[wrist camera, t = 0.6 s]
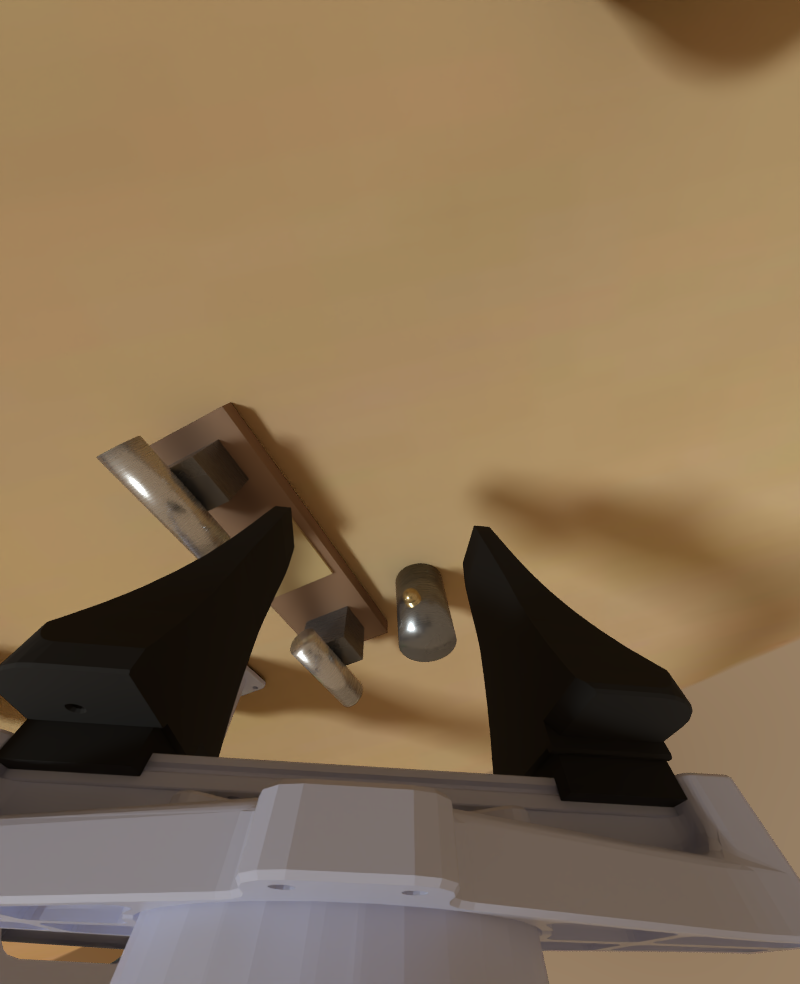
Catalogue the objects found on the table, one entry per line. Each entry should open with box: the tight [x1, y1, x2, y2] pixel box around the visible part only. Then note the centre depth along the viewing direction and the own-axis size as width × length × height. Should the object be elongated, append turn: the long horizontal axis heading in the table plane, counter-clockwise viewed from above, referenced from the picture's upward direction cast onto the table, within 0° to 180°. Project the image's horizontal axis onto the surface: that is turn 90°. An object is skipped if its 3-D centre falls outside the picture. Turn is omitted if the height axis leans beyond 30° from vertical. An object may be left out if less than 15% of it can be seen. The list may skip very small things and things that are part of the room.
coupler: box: [396, 563, 456, 662], centre depth 24 cm, size 4×6×6 cm, turn 25°
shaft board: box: [150, 402, 387, 641], centre depth 24 cm, size 7×22×1 cm, turn 25°
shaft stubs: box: [96, 436, 365, 707], centre depth 22 cm, size 4×23×5 cm, turn 25°
